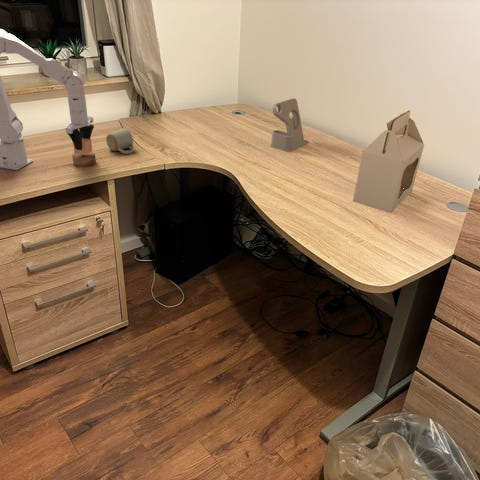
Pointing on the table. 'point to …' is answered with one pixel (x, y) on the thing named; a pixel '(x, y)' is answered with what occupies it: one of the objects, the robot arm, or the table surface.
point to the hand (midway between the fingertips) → (82, 147)
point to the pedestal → (84, 159)
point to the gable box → (390, 165)
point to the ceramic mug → (120, 141)
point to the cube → (84, 147)
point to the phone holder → (288, 127)
